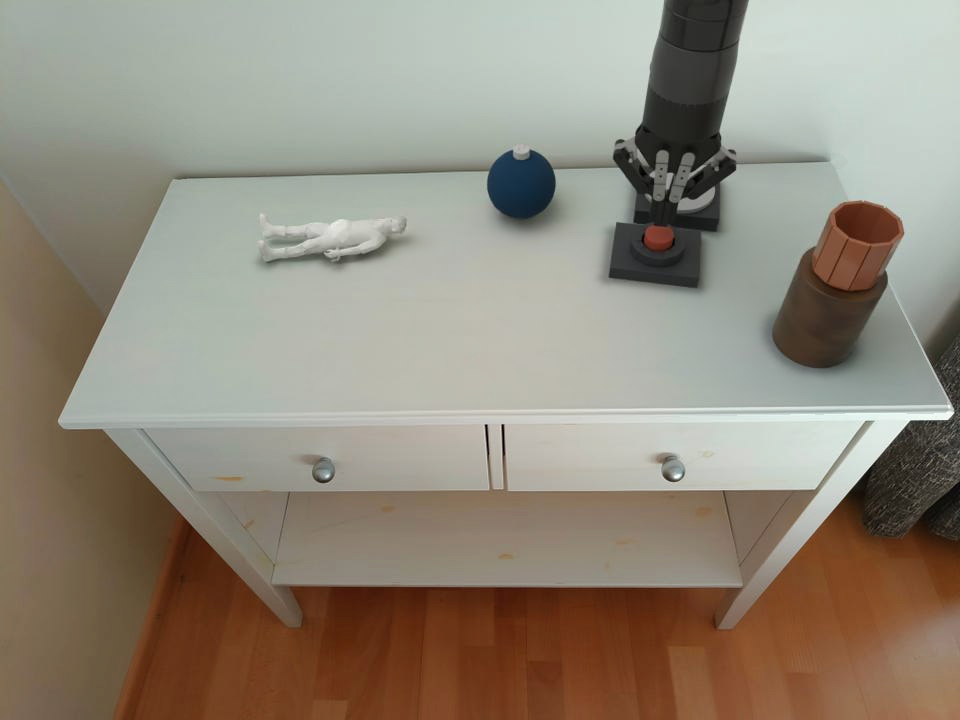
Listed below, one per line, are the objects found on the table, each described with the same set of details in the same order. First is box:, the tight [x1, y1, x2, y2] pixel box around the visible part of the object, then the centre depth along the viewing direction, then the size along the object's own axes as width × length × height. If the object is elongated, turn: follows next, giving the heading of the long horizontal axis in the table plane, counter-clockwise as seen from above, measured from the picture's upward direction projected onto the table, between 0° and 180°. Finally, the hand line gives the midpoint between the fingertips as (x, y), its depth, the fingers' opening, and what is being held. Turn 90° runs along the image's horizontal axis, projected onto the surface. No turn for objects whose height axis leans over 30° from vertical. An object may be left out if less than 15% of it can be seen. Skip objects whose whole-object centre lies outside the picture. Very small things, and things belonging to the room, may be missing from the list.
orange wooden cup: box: [811, 199, 905, 291], centre depth 68 cm, size 6×6×6 cm
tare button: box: [644, 225, 674, 251], centre depth 84 cm, size 3×3×1 cm
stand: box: [771, 245, 889, 369], centre depth 74 cm, size 8×8×10 cm
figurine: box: [257, 213, 409, 263], centre depth 89 cm, size 7×4×18 cm
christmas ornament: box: [486, 143, 557, 220], centre depth 89 cm, size 8×8×10 cm
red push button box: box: [608, 221, 702, 289], centre depth 85 cm, size 10×8×3 cm
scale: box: [632, 165, 721, 232], centre depth 92 cm, size 10×9×3 cm
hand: (660, 221), depth 82 cm, fingers closed
